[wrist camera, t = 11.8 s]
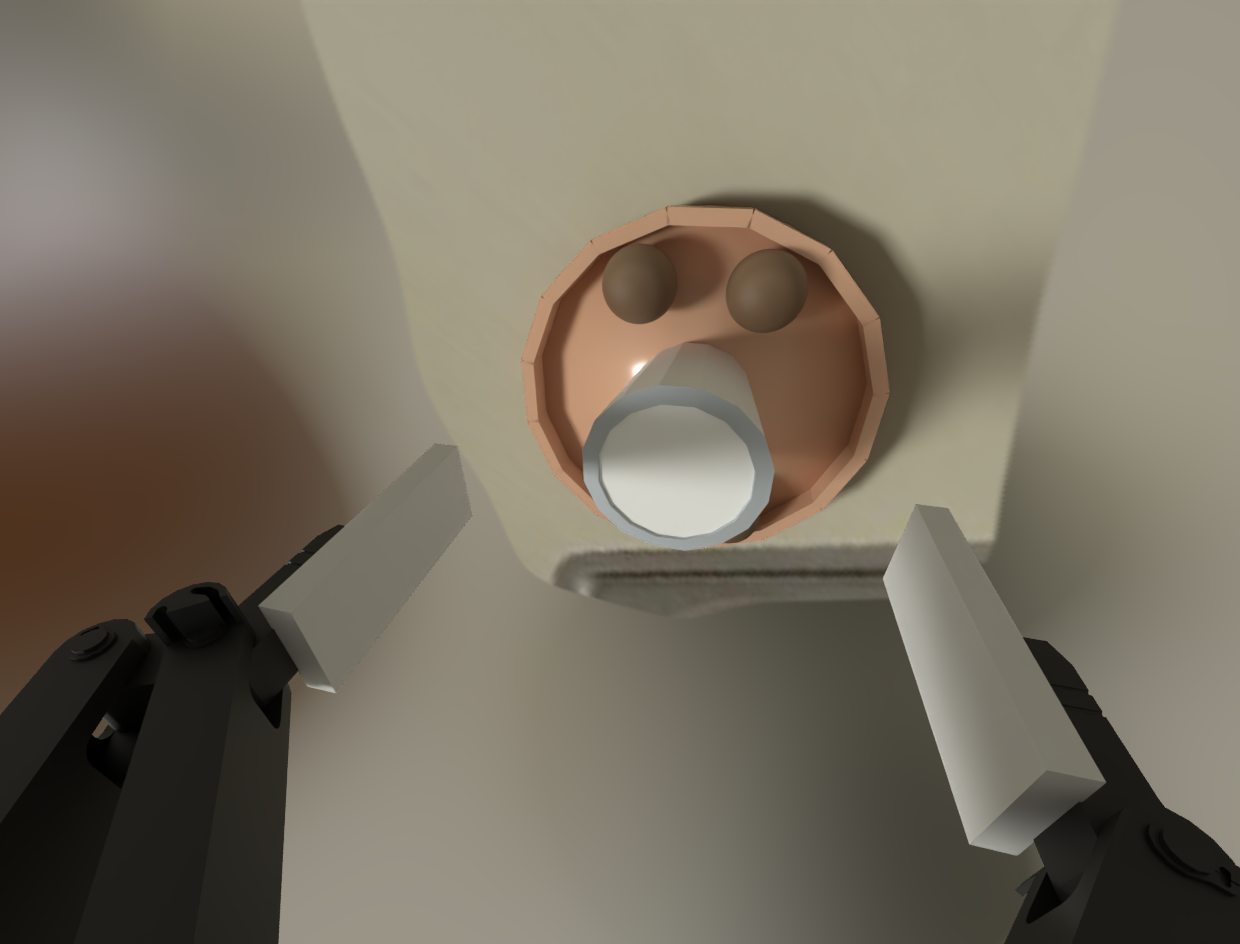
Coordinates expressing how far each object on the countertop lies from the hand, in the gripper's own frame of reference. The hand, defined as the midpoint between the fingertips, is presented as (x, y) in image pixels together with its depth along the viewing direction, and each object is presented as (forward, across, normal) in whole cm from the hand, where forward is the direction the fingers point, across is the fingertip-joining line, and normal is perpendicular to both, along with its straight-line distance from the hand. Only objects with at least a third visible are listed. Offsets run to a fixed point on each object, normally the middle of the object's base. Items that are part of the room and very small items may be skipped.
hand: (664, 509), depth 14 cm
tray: (+11, 0, -1) cm, 11 cm away
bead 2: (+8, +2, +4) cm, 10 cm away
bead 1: (+8, -2, +4) cm, 10 cm away
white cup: (+10, 0, -1) cm, 10 cm away
